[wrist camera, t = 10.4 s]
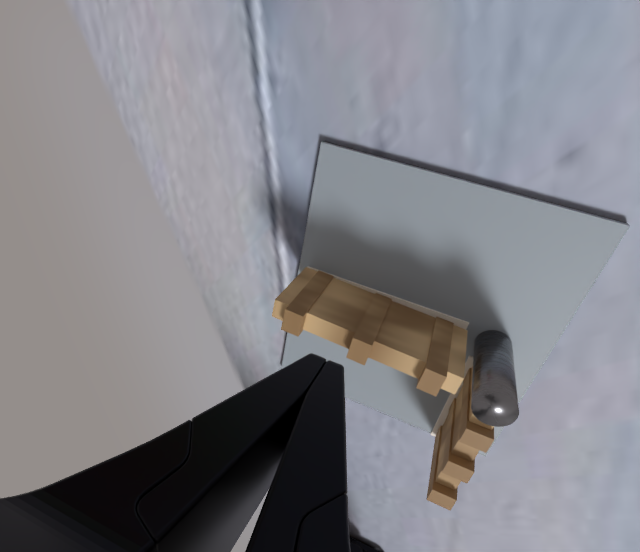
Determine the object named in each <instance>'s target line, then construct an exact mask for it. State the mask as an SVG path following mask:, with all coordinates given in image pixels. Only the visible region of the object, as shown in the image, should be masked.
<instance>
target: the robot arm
mask: <svg viewBox="0 0 640 552" xmlns="http://www.w3.org/2000/svg"><path fill="white" fill-rule="evenodd" d="M269 487H270V488H269ZM268 489H269V491H268ZM267 491H268V494H267V496H266V499H265V502H264V504H263V507H262V509H261V512H260V515H259V517H258V520H257V522H256V525H255V528H254V530H253V533H252V536H251V538H250V541H249V544H248V546H247V549H246V551H245V552H379V551H377V550H375V549H373V548H371V547H369V546H367V545H365V544H363V543H361V542H359V541H357V540H355V539H353V538H351V537H349V523H348V497H347V495H346V494H347V463H346V423H345V383H344V367H343V365H341V364H338V363H336V362H333V361H331V360H328V361H326V359H325V358H323V357H321V356H318V355H316V354H313V353H310V354H308V355H306V356H304V357H302V358H301V359H299V360H297V361H295V362H293V363H292V364H290V365H288V366H286V367H284V368H283V369H281V370H279V371H277V372H275V373H274V374H272V375H270V376H268V377H266V378H264V379H263V380H261V381H259V382H257V383H255V384H254V385H252V386H250V387H248V388H246V389H245V390H243V391H241V392H239V393H237V394H236V395H234V396H232V397H230V398H228V399H227V400H225V401H223V402H221V403H219V404H217V405H216V406H214V407H212V408H210V409H208V410H207V411H205V412H203V413H201V414H199V415H198V416H196V417H194V418H193V419H192V421H190V420H188V421H186V422H185V423H183V424H181V425H179V426H177V427H175V428H174V429H172V430H170V431H168V432H166V433H164V434H162V435H160V436H159V437H156V438H155V439H152V440H151V441H148V442H146V443H144V444H142V445H140V446H138V447H135V448H133V449H131V450H129V451H127V452H125V453H122V454H120V455H118V456H116V457H113V458H111V459H109V460H106V461H104V462H102V463H99V464H97V465H95V466H92V467H90V468H88V469H85V470H83V471H81V472H78V473H76V474H74V475H72V476H69V477H67V478H65V479H62V480H60V481H58V482H55V483H53V484H51V485H48V486H46V487H43V488H41V489H37V490H34V491H31V492H28V493H24V494H20V495H17V496H12V497H7V498H1V499H0V552H230V551H231V550H232V548H233V546H234V545H235V543H236V542H237V540H238V538H239V537H240V535H241V533H242V532H243V530H244V528H245V527H246V525H247V524H248V522H249V520H250V519H251V517H252V515H253V514H254V512H255V510H256V509H257V507H258V506H259V504H260V502H261V501H262V499H263V497H264V496H265V494H266V492H267Z"/></svg>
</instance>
